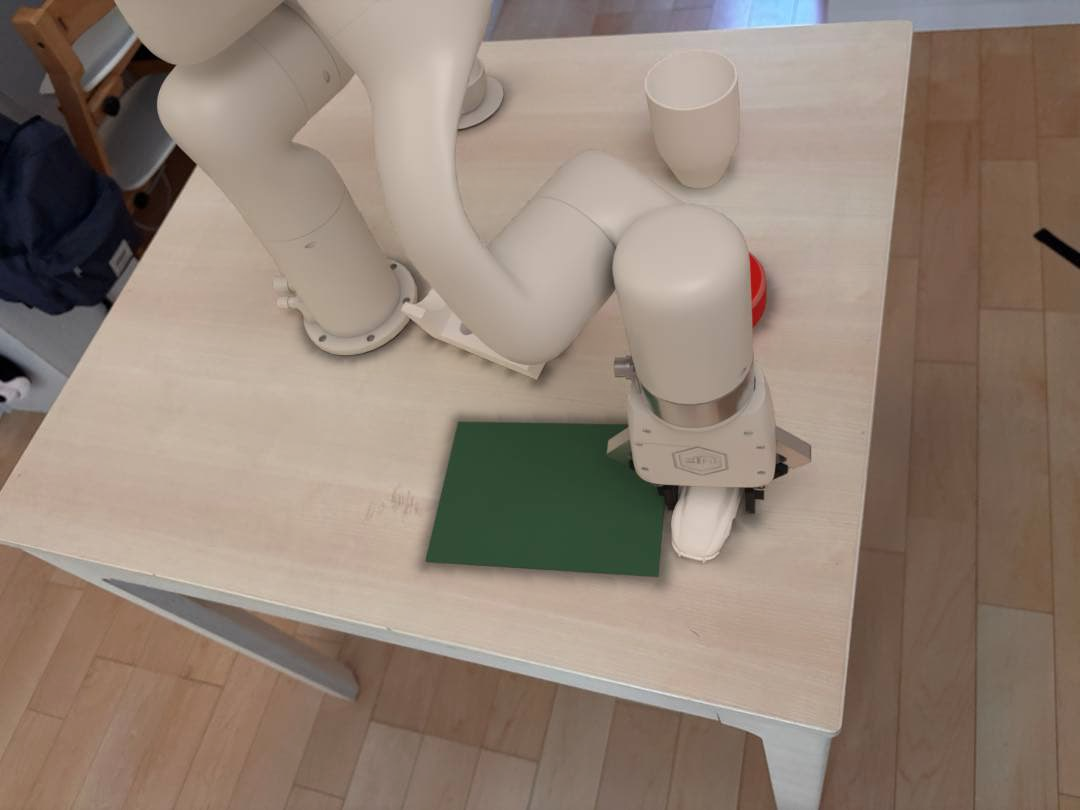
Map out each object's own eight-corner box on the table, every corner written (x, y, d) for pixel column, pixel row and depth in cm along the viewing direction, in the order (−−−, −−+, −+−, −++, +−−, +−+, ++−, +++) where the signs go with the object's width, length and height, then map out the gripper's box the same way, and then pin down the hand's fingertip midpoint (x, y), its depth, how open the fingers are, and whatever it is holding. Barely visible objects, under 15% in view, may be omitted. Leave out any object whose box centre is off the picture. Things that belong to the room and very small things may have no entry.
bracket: (437, 340, 89) (400, 310, 82) (468, 281, 90) (435, 246, 83) (540, 383, 83) (510, 354, 77) (573, 319, 84) (546, 285, 78)
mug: (726, 207, 89) (720, 113, 79) (646, 195, 92) (630, 103, 82) (760, 130, 94) (758, 32, 84) (683, 121, 97) (672, 26, 87)
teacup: (431, 85, 111) (419, 54, 108) (506, 72, 109) (496, 40, 105) (423, 138, 106) (410, 107, 102) (501, 125, 104) (491, 93, 100)
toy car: (759, 443, 73) (759, 422, 71) (721, 571, 68) (719, 554, 65) (704, 431, 75) (701, 410, 72) (662, 555, 70) (658, 538, 67)
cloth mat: (426, 562, 75) (425, 560, 74) (459, 423, 82) (458, 421, 82) (658, 577, 69) (657, 575, 69) (671, 426, 76) (671, 425, 76)
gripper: (558, 418, 57) (604, 532, 72) (835, 423, 52) (822, 543, 67) (574, 327, 61) (614, 453, 75) (832, 323, 56) (821, 458, 71)
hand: (712, 494), depth 71 cm, fingers closed on toy car, 5 cm apart
